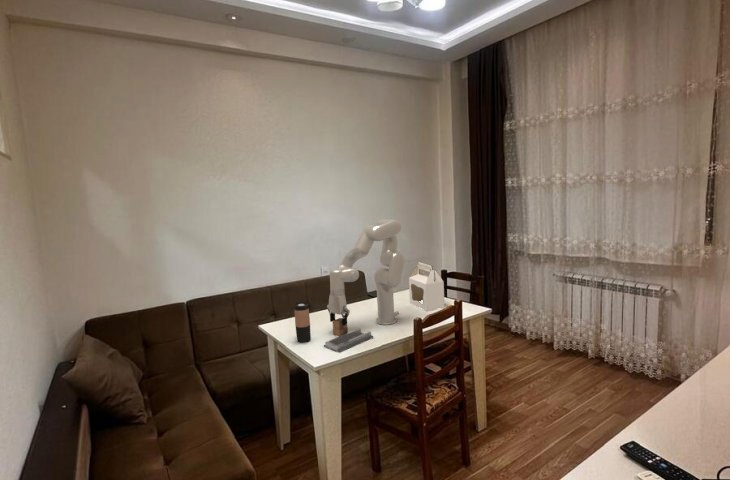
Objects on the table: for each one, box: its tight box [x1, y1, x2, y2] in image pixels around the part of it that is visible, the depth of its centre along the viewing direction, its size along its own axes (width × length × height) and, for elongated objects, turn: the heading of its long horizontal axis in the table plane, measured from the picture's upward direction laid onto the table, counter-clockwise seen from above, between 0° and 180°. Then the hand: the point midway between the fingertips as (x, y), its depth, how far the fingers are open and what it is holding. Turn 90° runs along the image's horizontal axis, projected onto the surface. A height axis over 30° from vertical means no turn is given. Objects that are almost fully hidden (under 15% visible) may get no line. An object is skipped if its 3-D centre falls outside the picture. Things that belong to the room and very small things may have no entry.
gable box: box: [408, 261, 445, 312], centre depth 253 cm, size 22×13×28 cm, turn 22°
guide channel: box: [323, 328, 374, 354], centre depth 200 cm, size 24×12×3 cm, turn 136°
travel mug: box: [293, 301, 312, 344], centre depth 204 cm, size 8×8×20 cm
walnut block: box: [332, 317, 349, 337], centre depth 211 cm, size 6×5×8 cm
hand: (338, 322), depth 211 cm, fingers open, 9 cm apart
